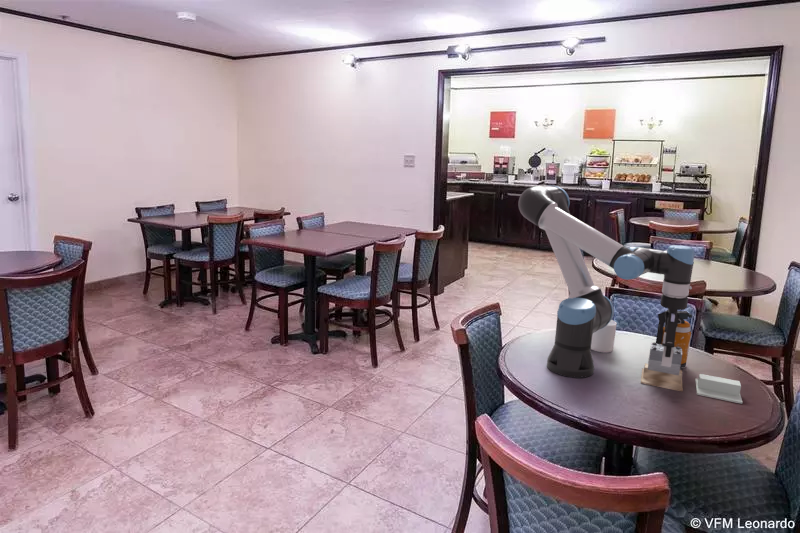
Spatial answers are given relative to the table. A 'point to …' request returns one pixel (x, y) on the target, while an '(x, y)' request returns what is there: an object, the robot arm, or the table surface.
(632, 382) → the table surface
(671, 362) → the robot arm
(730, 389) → the stand
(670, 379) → the stand
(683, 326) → the canister
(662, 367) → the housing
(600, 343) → the mug
